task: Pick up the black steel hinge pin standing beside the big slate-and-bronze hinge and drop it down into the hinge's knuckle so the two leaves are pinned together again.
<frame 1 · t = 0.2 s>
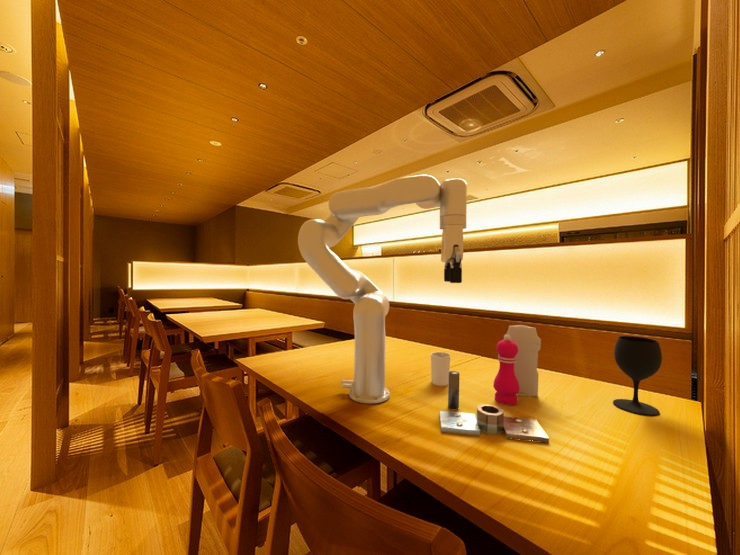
hand: (452, 282, 91), 36 cm above the table, tool pointing down, fingers open, 9 cm apart
wine glass: (635, 408, 90), on the table
pepper mill: (505, 401, 94), on the table
hinge: (489, 427, 78), on the table
beige upright panel: (520, 394, 100), on the table
paper coffee cup: (440, 383, 108), on the table
hinge pin: (453, 407, 89), on the table
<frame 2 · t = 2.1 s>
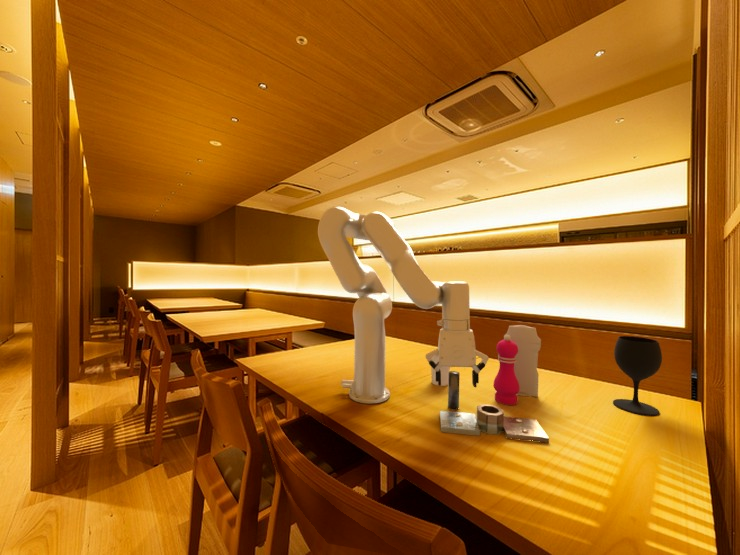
hand: (456, 384, 88), 7 cm above the table, tool pointing down, fingers open, 9 cm apart
nothing on the table moved.
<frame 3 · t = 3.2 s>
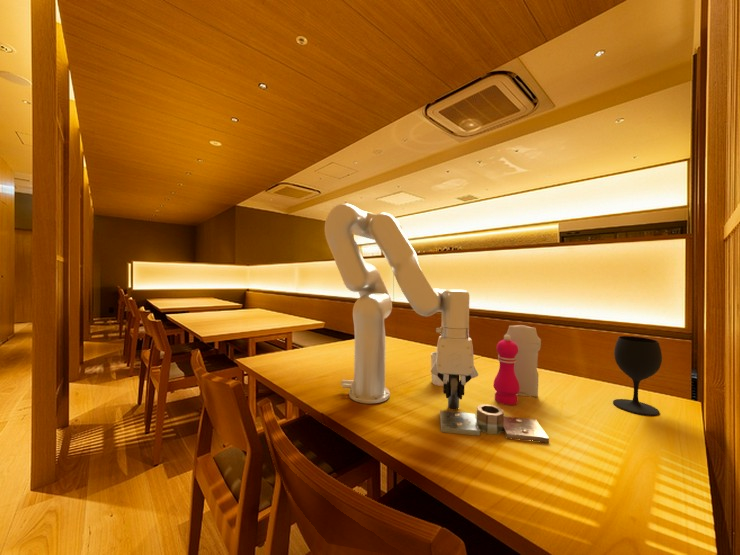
hand: (453, 396, 89), 3 cm above the table, tool pointing down, fingers closed on hinge pin, 3 cm apart
hinge pin: (453, 407, 89), on the table, touching gripper
everything else where it was.
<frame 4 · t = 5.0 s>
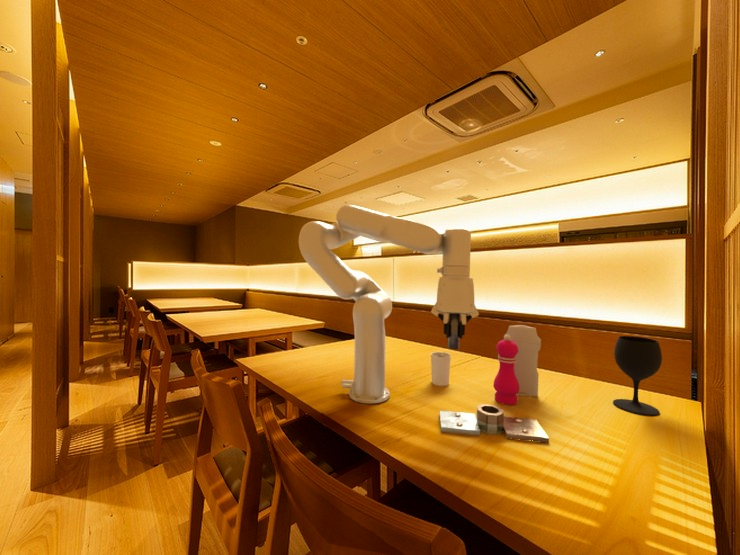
hand: (453, 336, 88), 20 cm above the table, tool pointing down, fingers closed on hinge pin, 3 cm apart
hinge pin: (453, 348, 89), point 17 cm above the table, touching gripper
everything else where it was.
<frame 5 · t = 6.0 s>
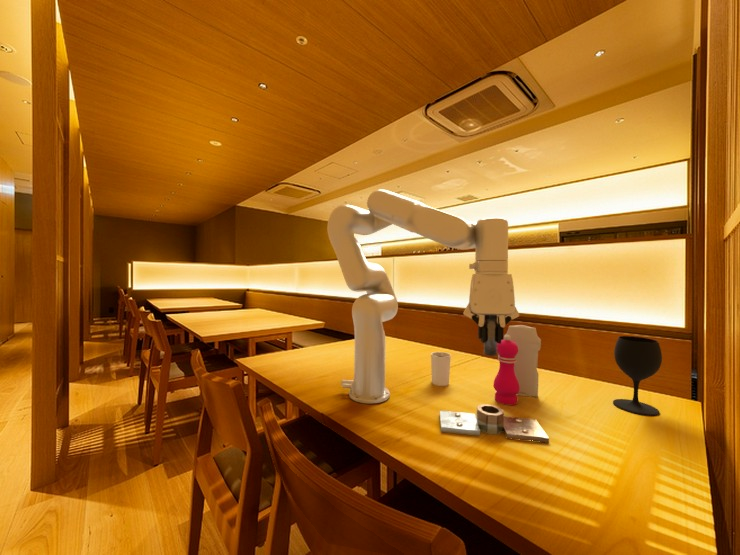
hand: (490, 341, 77), 22 cm above the table, tool pointing down, fingers closed on hinge pin, 3 cm apart
hinge pin: (490, 354, 78), point 18 cm above the table, touching gripper
everything else where it was.
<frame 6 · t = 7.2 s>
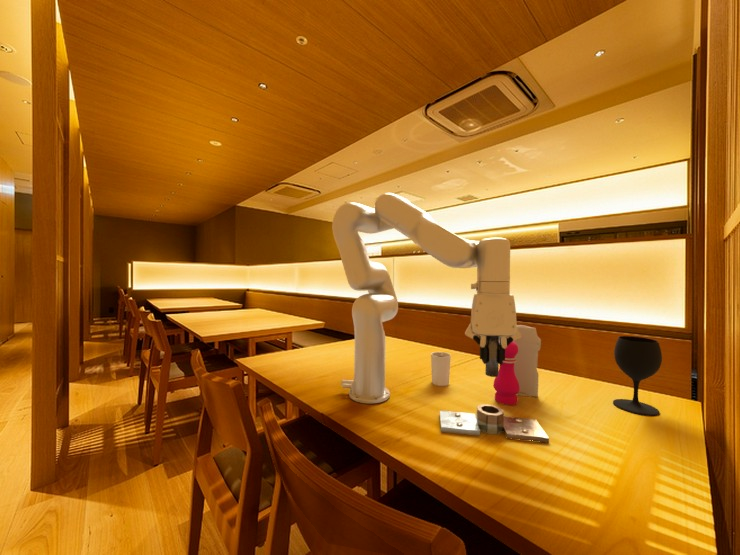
hand: (492, 362, 77), 17 cm above the table, tool pointing down, fingers closed on hinge pin, 3 cm apart
hinge pin: (491, 374, 77), point 13 cm above the table, touching gripper
everything else where it was.
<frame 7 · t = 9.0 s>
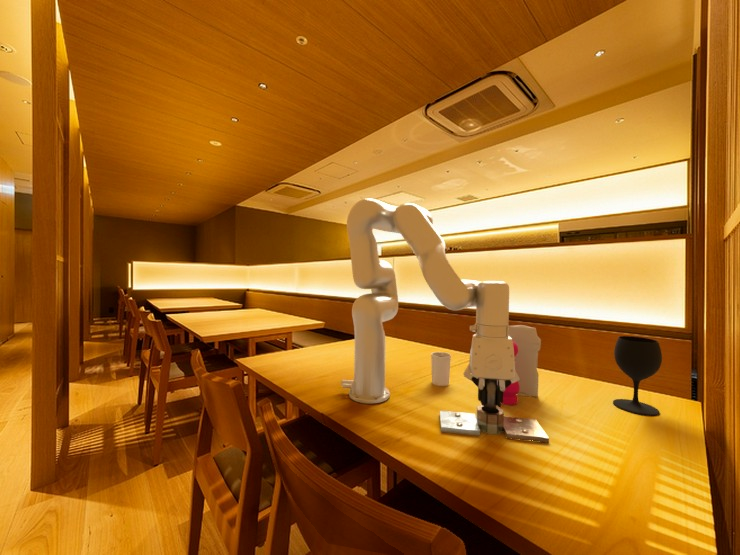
hand: (490, 403, 77), 6 cm above the table, tool pointing down, fingers closed on hinge pin, 3 cm apart
hinge pin: (489, 416, 78), point 3 cm above the table, touching gripper
everything else where it was.
when the fingers open (6 cm above the table, at t = 9.2 s): hinge pin drops 3 cm, resting in hinge.
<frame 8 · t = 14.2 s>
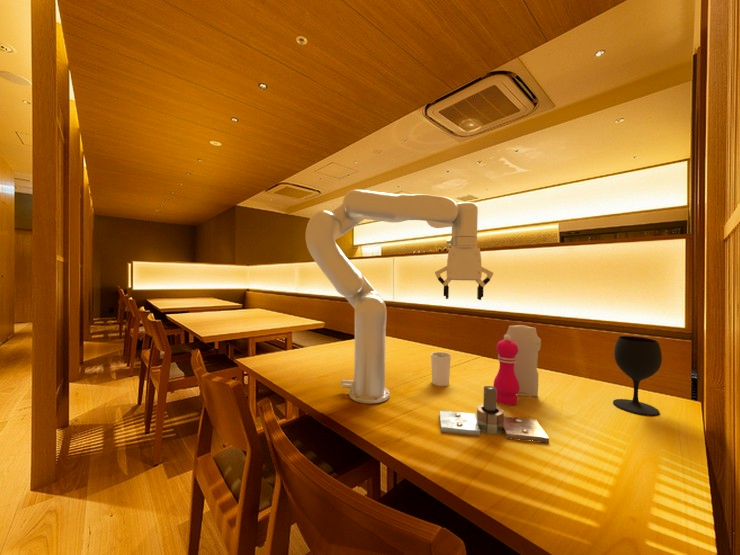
hand: (462, 299, 96), 30 cm above the table, tool pointing down, fingers open, 9 cm apart
hinge pin: (489, 427, 78), resting in hinge
everything else where it was.
at the end: hinge pin 0.1 cm from the hinge (horizontally); hinge pin resting in hinge; hinge pin tilted 0° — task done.
